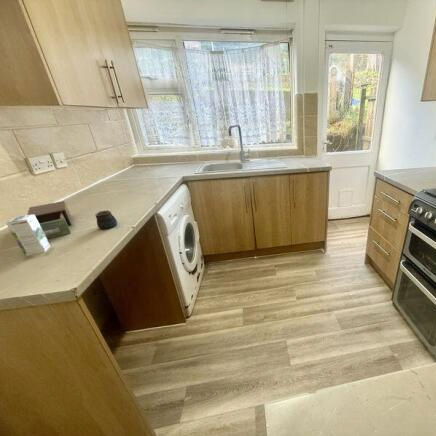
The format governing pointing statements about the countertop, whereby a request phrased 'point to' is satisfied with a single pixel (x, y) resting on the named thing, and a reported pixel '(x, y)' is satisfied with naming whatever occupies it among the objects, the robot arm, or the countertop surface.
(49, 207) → the cabinet
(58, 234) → the drawer
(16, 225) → the syrup box
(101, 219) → the mate gourd
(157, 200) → the countertop surface
